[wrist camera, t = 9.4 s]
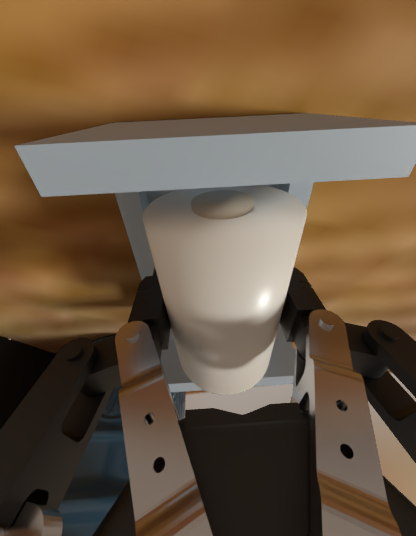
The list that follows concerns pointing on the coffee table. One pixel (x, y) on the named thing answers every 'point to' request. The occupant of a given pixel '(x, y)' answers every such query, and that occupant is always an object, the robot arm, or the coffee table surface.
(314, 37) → the coffee table surface
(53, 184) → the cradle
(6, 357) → the long black block
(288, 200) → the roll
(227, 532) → the robot arm
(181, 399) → the canister
